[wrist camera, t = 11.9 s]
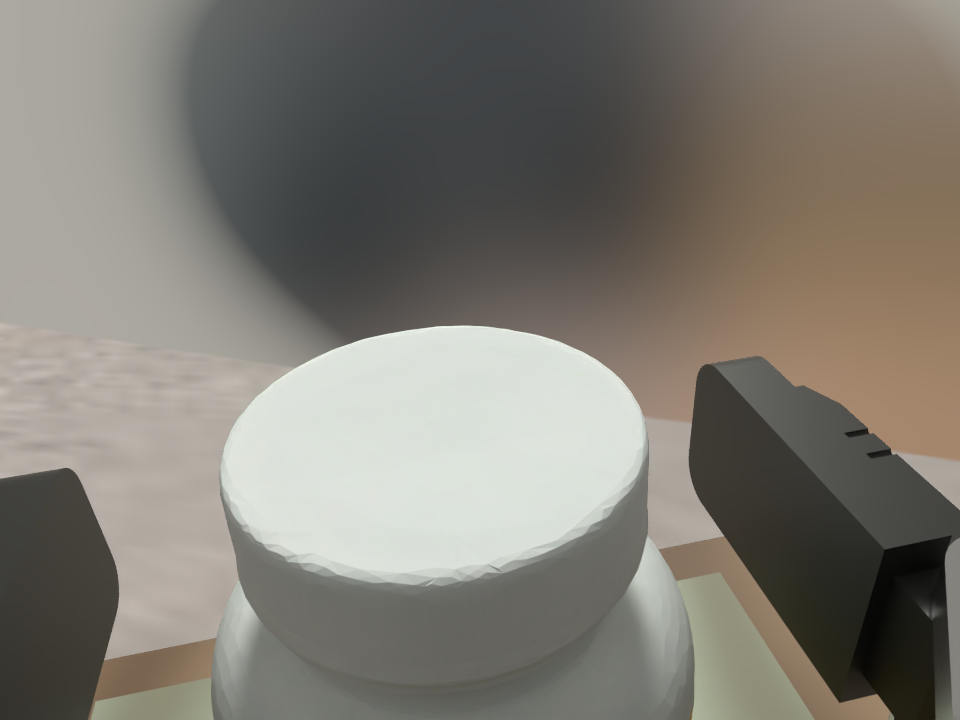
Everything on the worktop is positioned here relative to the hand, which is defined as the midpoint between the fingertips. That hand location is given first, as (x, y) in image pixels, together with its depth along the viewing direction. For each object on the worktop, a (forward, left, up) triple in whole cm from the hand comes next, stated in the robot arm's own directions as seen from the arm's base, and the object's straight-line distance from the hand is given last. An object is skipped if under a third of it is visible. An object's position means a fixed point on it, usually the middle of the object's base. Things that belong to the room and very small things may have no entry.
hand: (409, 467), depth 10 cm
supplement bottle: (0, +2, -8) cm, 8 cm away
